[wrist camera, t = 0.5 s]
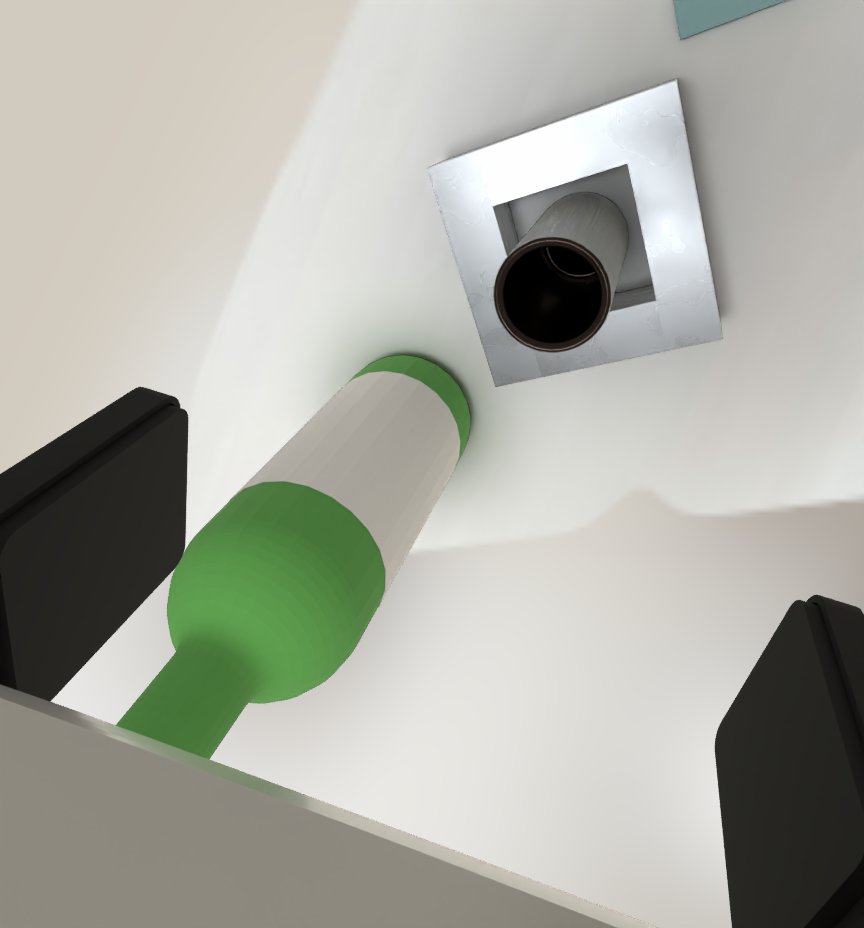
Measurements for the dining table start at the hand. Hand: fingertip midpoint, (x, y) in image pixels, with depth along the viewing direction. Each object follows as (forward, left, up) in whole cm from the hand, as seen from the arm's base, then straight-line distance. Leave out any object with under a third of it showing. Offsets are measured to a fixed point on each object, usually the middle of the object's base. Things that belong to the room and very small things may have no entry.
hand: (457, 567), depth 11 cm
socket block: (+2, +1, -29) cm, 29 cm away
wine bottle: (+14, +8, -30) cm, 33 cm away
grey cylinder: (+2, +1, -30) cm, 30 cm away
